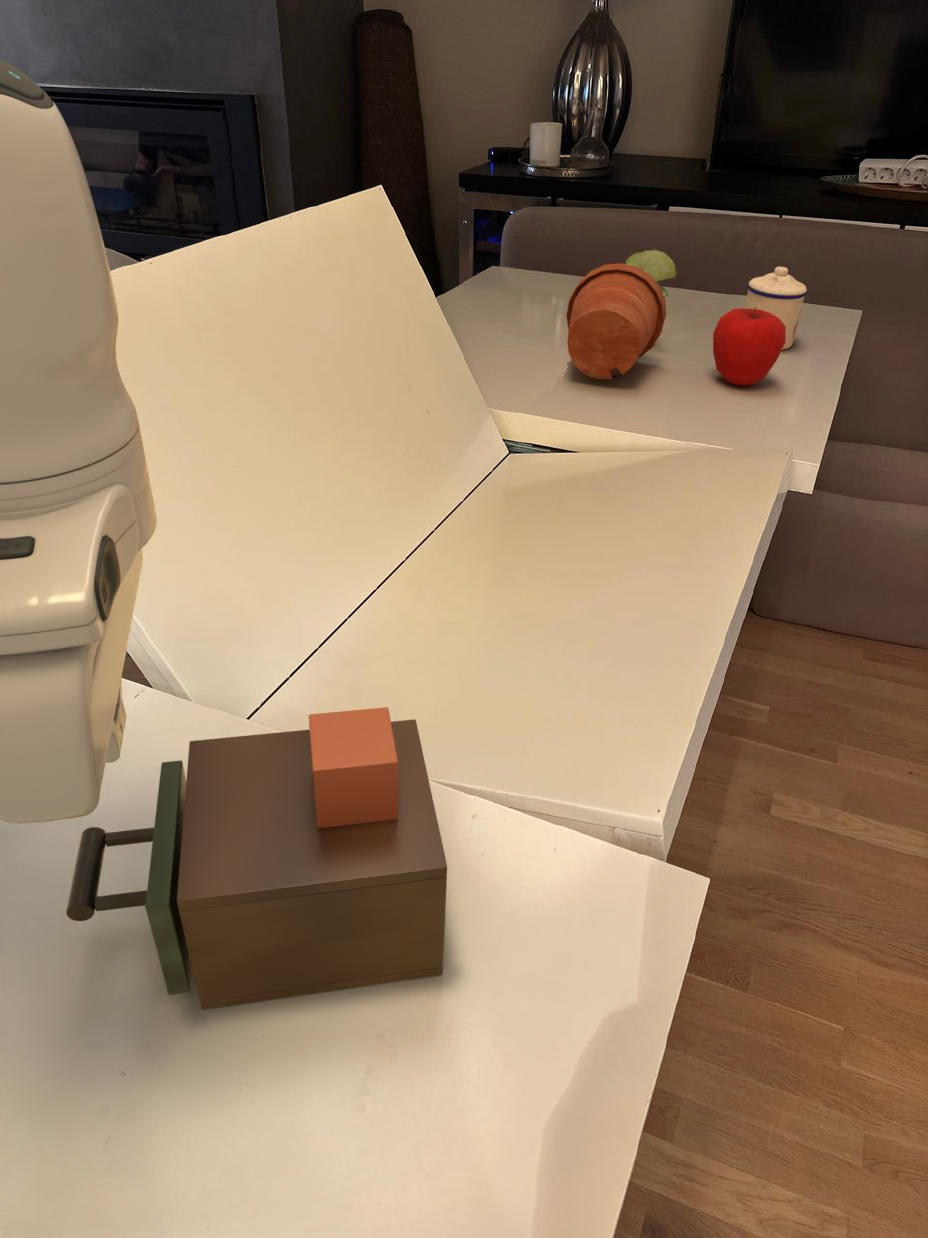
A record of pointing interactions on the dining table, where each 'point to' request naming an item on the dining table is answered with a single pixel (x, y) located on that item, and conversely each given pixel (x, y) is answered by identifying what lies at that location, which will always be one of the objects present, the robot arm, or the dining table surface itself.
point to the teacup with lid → (778, 299)
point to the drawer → (160, 882)
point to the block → (354, 767)
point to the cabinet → (304, 875)
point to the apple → (747, 345)
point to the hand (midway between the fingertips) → (106, 743)
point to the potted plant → (618, 313)
